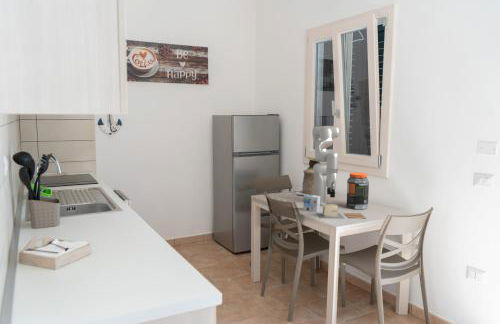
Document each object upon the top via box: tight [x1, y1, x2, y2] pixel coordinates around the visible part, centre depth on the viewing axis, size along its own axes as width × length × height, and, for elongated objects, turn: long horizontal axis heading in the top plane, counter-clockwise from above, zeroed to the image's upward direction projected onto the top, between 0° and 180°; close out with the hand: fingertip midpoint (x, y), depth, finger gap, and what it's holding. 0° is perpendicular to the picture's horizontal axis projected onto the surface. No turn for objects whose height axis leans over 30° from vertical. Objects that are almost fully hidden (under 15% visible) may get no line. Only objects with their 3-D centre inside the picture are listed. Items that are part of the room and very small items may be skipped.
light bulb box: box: [302, 194, 321, 213], centre depth 281 cm, size 11×7×11 cm, turn 62°
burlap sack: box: [295, 157, 328, 196], centre depth 337 cm, size 25×25×32 cm
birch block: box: [322, 204, 339, 217], centre depth 266 cm, size 6×9×7 cm, turn 91°
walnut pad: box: [343, 212, 367, 220], centre depth 266 cm, size 12×12×1 cm
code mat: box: [315, 212, 346, 220], centre depth 266 cm, size 14×17×1 cm
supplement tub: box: [346, 172, 370, 210], centre depth 291 cm, size 16×16×26 cm
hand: (330, 195), depth 264 cm, fingers open, 9 cm apart
